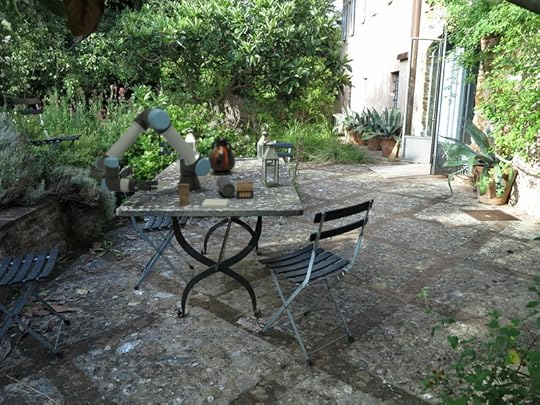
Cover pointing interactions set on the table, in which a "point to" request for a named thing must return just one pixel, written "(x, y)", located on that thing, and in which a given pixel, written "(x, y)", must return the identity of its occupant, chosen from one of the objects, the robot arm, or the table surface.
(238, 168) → the table surface
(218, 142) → the amphora vase
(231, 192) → the bluetooth speaker
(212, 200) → the plate
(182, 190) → the walnut block
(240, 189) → the ammunition clip
